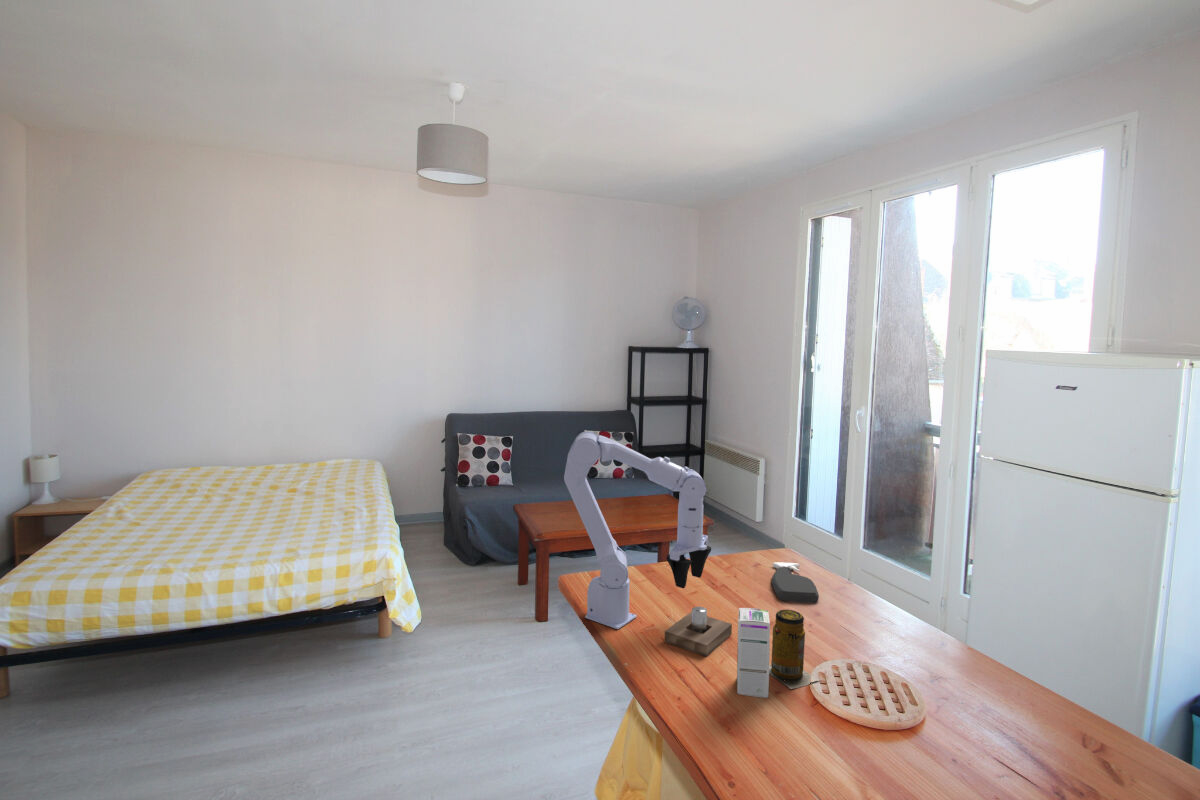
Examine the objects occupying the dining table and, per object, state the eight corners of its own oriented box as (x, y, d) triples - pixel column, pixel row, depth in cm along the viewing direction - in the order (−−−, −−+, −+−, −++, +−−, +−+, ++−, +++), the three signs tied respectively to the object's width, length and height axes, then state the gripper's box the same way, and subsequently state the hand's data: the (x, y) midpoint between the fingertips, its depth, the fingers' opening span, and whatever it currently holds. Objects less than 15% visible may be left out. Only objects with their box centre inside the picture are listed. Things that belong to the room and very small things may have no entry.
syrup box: (768, 698, 113) (772, 623, 112) (735, 694, 115) (738, 619, 113) (766, 681, 119) (770, 609, 117) (735, 678, 120) (738, 606, 119)
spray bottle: (776, 602, 155) (764, 567, 179) (821, 605, 154) (803, 570, 178) (776, 591, 155) (764, 557, 179) (822, 594, 153) (804, 559, 178)
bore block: (664, 641, 134) (664, 630, 133) (691, 621, 143) (691, 611, 143) (706, 656, 128) (706, 645, 128) (731, 634, 137) (731, 623, 137)
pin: (688, 636, 135) (689, 610, 134) (695, 631, 138) (696, 605, 137) (702, 641, 133) (702, 614, 133) (708, 635, 136) (709, 609, 135)
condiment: (788, 660, 127) (791, 604, 126) (819, 681, 119) (822, 622, 118) (760, 668, 124) (762, 611, 122) (790, 690, 116) (793, 629, 115)
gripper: (690, 535, 133) (688, 596, 135) (720, 520, 145) (718, 576, 146) (662, 529, 137) (660, 588, 139) (693, 514, 149) (691, 569, 150)
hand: (688, 581), depth 143 cm, fingers open, 7 cm apart
